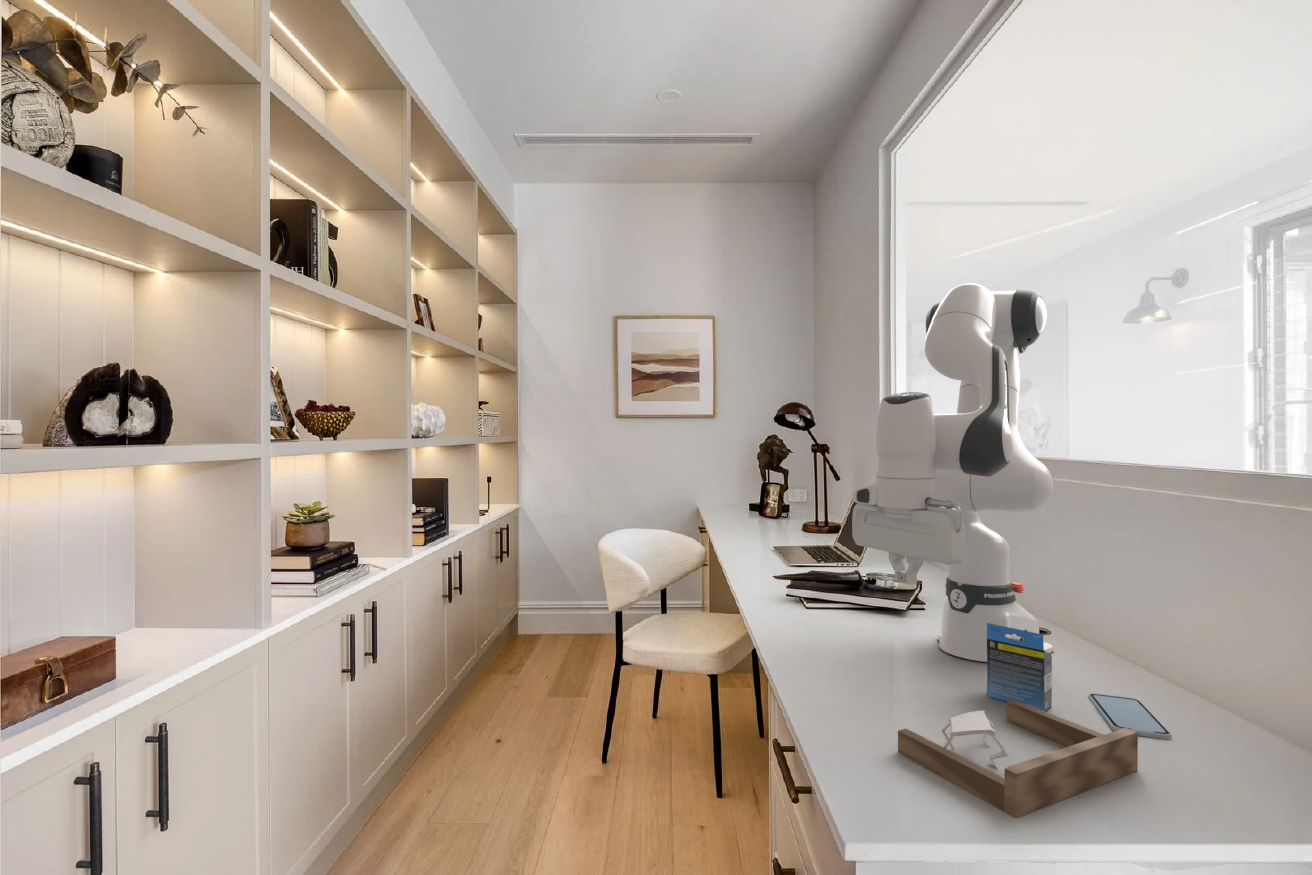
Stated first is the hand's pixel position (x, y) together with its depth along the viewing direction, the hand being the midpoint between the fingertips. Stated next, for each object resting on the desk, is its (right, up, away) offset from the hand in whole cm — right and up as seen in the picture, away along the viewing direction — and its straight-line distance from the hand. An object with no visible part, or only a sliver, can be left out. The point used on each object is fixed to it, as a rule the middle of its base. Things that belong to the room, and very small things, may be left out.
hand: (905, 582), depth 107 cm
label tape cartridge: (+20, -20, +3) cm, 28 cm away
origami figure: (+4, -21, -15) cm, 26 cm away
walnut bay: (+8, -20, -16) cm, 27 cm away
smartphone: (+33, -21, -2) cm, 39 cm away
